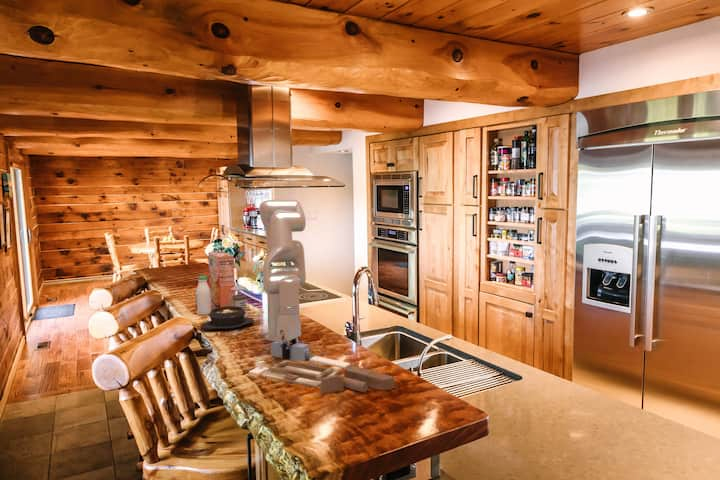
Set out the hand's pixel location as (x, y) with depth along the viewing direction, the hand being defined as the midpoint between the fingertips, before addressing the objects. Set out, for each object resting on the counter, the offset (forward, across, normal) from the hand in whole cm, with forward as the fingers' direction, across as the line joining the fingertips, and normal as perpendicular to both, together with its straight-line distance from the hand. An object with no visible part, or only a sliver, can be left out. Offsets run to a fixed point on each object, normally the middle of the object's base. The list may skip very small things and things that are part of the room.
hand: (290, 355), depth 188 cm
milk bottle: (+1, -37, -81) cm, 89 cm away
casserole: (+1, -23, -52) cm, 57 cm away
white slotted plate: (+1, +18, -1) cm, 18 cm away
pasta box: (+1, -52, -82) cm, 97 cm away
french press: (+1, -43, -63) cm, 76 cm away
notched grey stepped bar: (+1, 0, 0) cm, 1 cm away
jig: (0, +13, +14) cm, 19 cm away
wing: (+1, -1, +17) cm, 17 cm away
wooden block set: (+1, +17, +38) cm, 41 cm away
